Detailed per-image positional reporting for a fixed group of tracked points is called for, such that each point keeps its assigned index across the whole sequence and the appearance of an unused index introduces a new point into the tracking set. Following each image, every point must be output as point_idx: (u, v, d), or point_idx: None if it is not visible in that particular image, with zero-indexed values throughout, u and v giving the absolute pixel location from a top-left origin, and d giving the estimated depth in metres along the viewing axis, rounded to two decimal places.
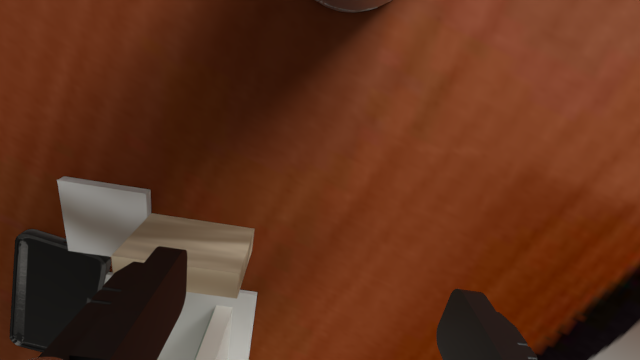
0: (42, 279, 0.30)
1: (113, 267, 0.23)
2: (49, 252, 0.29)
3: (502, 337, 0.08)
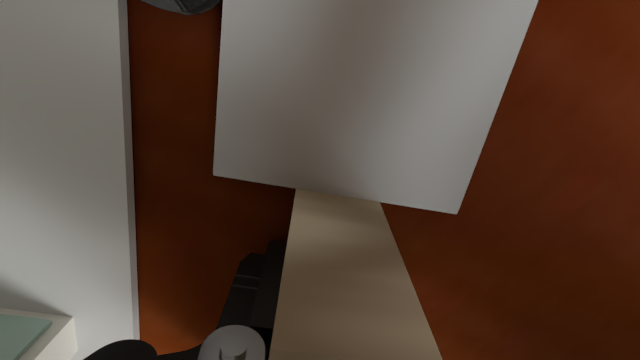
0: None
1: (365, 354, 0.04)
2: None
3: None
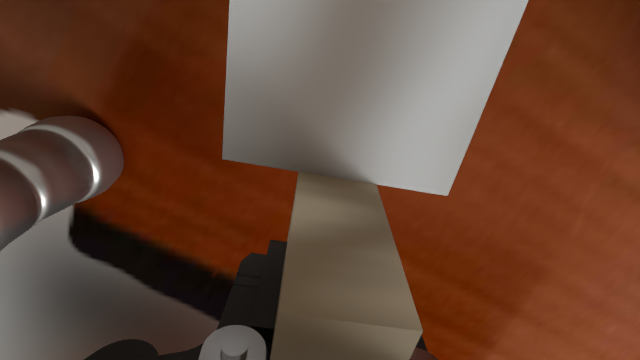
0: None
1: (356, 318, 0.05)
2: None
3: None
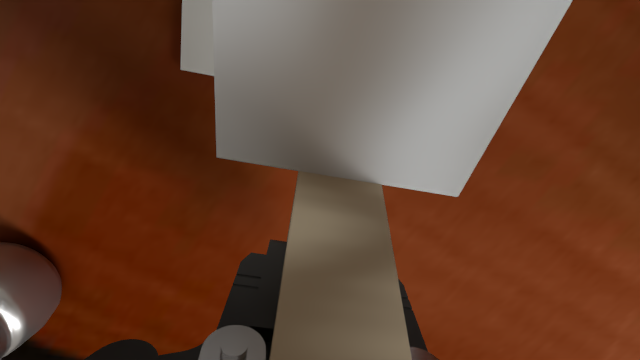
0: None
1: None
2: None
3: None
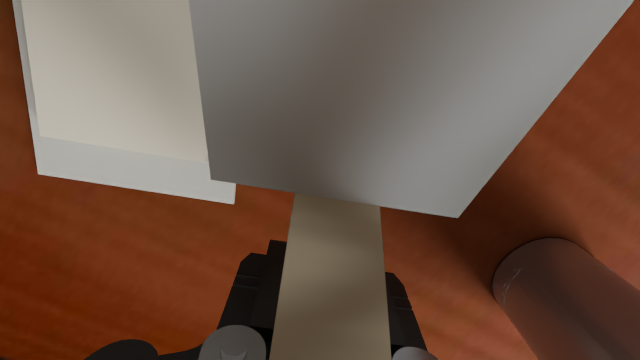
0: None
1: None
2: None
3: None
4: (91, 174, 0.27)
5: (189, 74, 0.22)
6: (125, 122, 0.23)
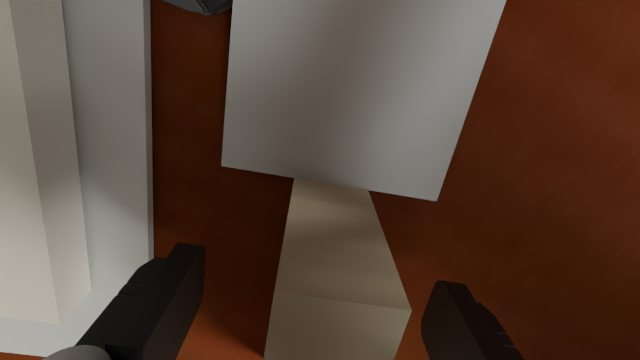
0: None
1: (348, 298, 0.06)
2: None
3: (480, 325, 0.08)
4: None
5: None
6: None
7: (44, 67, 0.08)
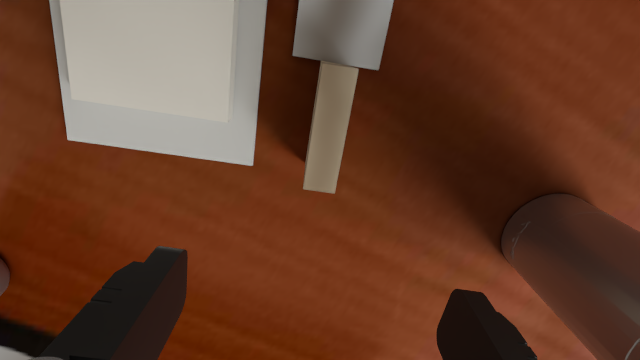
0: None
1: (341, 66, 0.21)
2: None
3: (502, 337, 0.08)
4: (117, 139, 0.28)
5: (212, 34, 0.24)
6: (151, 83, 0.25)
7: (235, 14, 0.24)
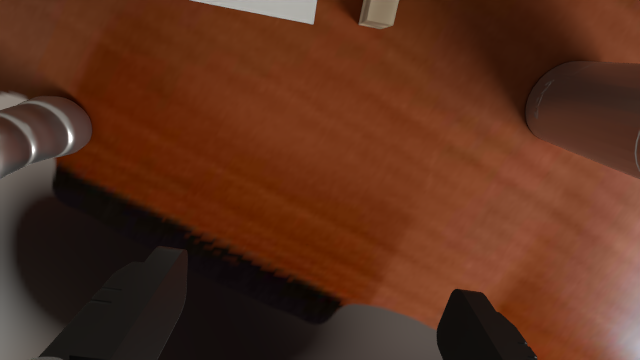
0: None
1: None
2: None
3: (502, 337, 0.08)
4: None
5: None
6: None
7: None
